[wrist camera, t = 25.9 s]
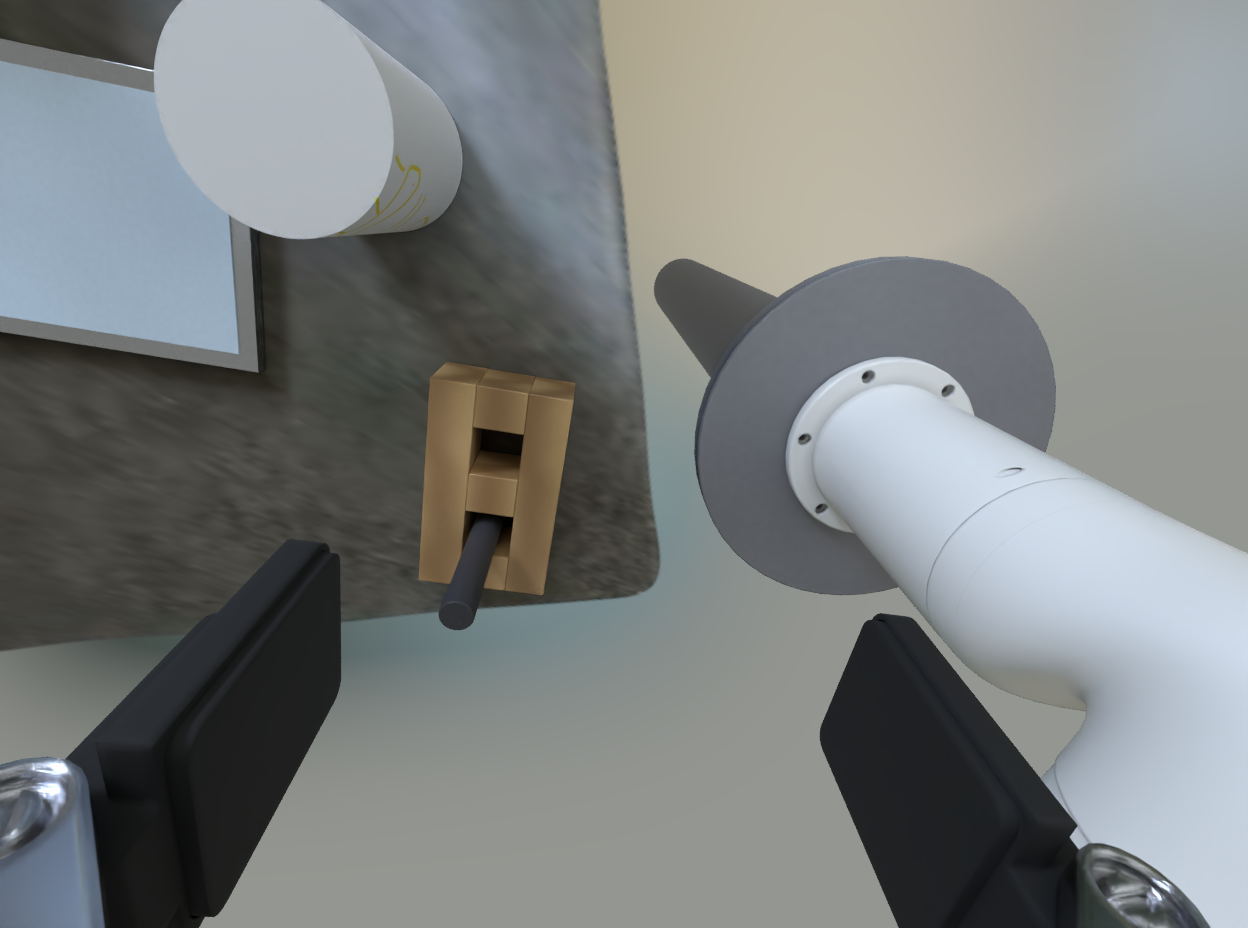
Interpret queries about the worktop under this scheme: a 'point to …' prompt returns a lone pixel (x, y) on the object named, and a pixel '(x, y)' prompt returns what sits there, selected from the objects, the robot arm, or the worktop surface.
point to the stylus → (471, 573)
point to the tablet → (114, 221)
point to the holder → (493, 471)
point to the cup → (302, 121)
